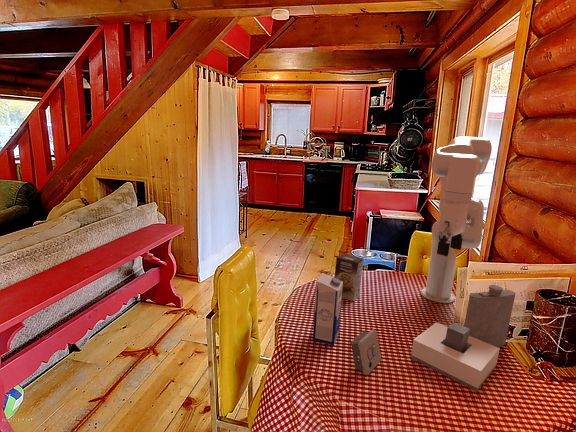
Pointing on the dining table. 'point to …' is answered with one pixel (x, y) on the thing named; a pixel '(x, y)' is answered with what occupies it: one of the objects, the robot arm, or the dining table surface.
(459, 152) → the robot arm
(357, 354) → the electrical switch
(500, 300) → the hip flask
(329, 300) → the milk carton
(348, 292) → the coffee box
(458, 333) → the plug
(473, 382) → the socket
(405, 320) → the dining table surface
